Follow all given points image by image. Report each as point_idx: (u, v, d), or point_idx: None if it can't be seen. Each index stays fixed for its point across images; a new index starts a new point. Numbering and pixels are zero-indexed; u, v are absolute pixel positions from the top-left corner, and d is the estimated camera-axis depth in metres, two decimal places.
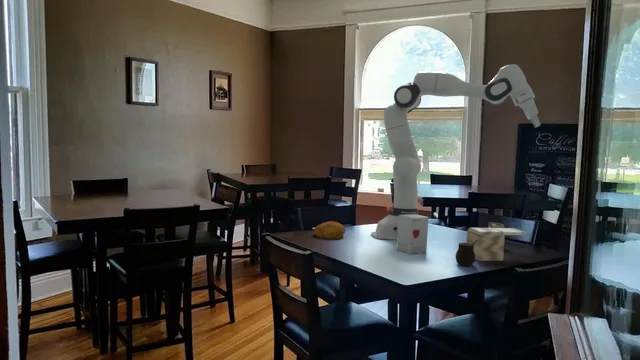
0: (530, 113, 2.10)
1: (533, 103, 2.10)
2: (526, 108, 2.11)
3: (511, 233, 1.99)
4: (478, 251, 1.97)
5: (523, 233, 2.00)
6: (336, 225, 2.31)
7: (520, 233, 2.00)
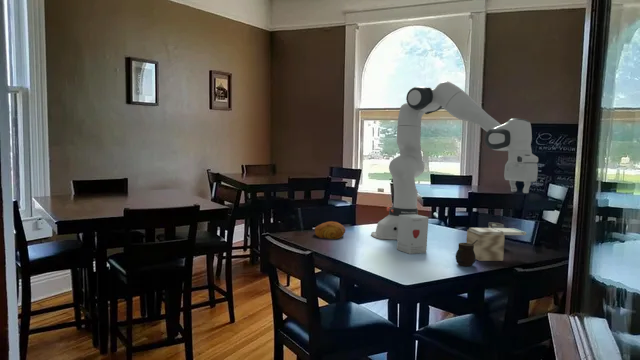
0: (530, 178, 1.94)
1: (536, 169, 1.95)
2: (528, 171, 1.94)
3: (511, 233, 1.99)
4: (478, 251, 1.97)
5: (523, 233, 2.00)
6: (336, 225, 2.31)
7: (520, 233, 2.00)
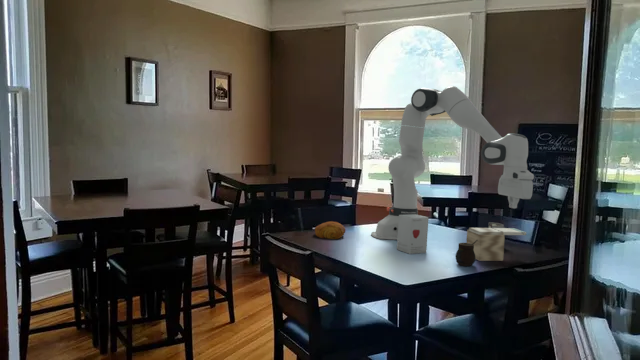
0: (525, 195, 1.93)
1: (531, 187, 1.94)
2: (524, 188, 1.93)
3: (511, 233, 1.99)
4: (478, 251, 1.97)
5: (523, 233, 2.00)
6: (336, 225, 2.31)
7: (520, 233, 2.00)
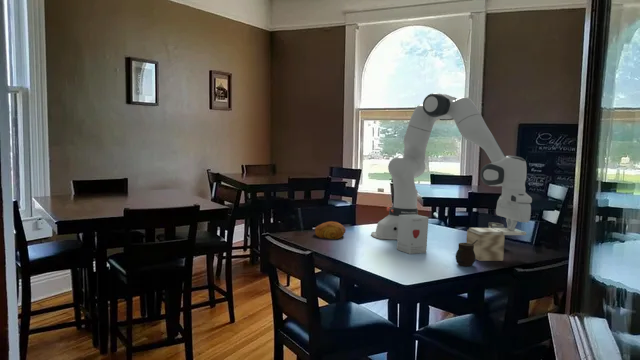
0: (523, 218, 1.94)
1: (529, 210, 1.94)
2: (522, 211, 1.94)
3: (511, 233, 1.99)
4: (478, 251, 1.97)
5: (523, 233, 2.00)
6: (336, 225, 2.31)
7: (520, 233, 2.00)
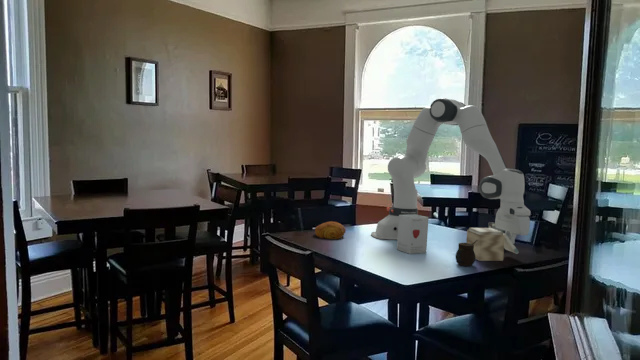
0: (522, 231, 1.94)
1: (528, 223, 1.94)
2: (521, 224, 1.94)
3: (509, 240, 2.00)
4: (478, 251, 1.97)
5: (516, 250, 2.00)
6: (336, 225, 2.31)
7: (514, 248, 2.00)
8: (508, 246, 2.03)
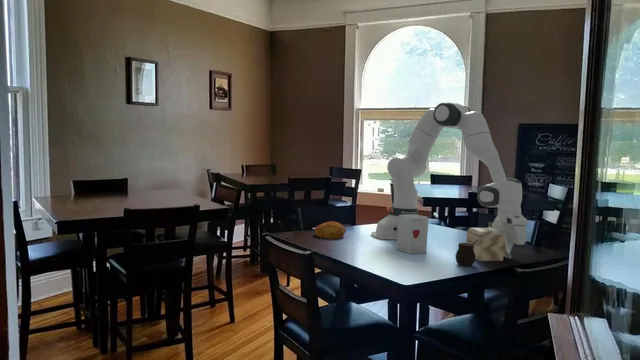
0: (519, 241, 1.94)
1: (525, 232, 1.95)
2: (517, 234, 1.94)
3: (506, 243, 1.99)
4: (478, 251, 1.97)
5: (509, 255, 2.00)
6: (336, 225, 2.31)
7: (508, 252, 2.00)
8: None
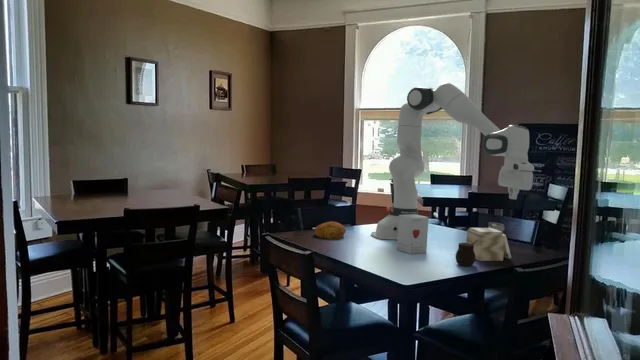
0: (525, 186, 1.95)
1: (532, 178, 1.95)
2: (524, 179, 1.95)
3: (506, 243, 1.99)
4: (478, 251, 1.97)
5: (509, 255, 2.00)
6: (336, 225, 2.31)
7: (508, 252, 2.00)
8: None
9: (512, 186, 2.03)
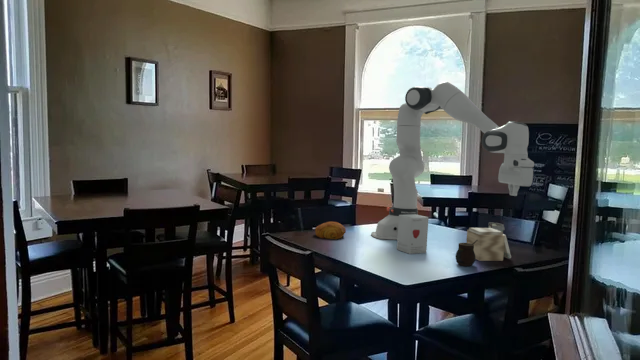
0: (525, 182, 1.95)
1: (532, 174, 1.95)
2: (524, 175, 1.95)
3: (506, 243, 1.99)
4: (478, 251, 1.97)
5: (509, 255, 2.00)
6: (336, 225, 2.31)
7: (508, 252, 2.00)
8: None
9: (512, 182, 2.03)
